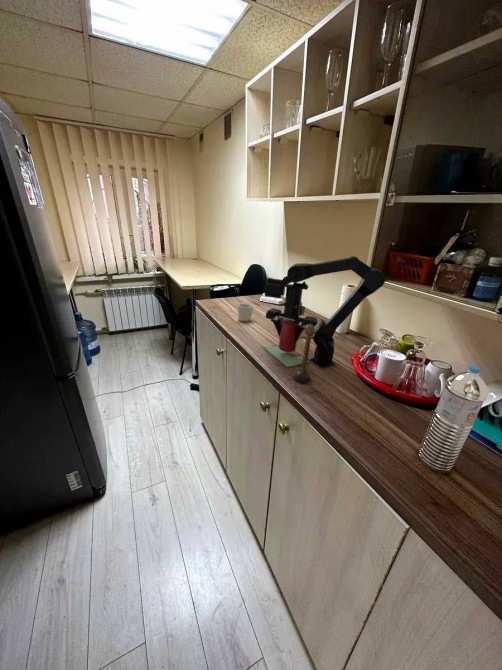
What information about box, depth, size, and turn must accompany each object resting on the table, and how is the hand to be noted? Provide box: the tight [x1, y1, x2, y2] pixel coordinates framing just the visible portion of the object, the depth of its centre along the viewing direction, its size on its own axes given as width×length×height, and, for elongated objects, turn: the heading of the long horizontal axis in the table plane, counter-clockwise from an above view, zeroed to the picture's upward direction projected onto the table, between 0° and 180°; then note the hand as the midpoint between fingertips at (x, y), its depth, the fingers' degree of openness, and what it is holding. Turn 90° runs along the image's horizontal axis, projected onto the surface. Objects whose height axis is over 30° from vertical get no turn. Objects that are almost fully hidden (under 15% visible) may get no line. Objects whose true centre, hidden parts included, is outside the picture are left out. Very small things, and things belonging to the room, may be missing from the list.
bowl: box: [299, 323, 318, 338], centre depth 130 cm, size 14×14×4 cm
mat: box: [264, 345, 310, 368], centre depth 107 cm, size 16×10×1 cm, turn 29°
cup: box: [237, 302, 254, 322], centre depth 141 cm, size 11×8×8 cm
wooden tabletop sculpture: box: [294, 324, 315, 384], centre depth 89 cm, size 6×5×20 cm
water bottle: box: [417, 364, 489, 474], centre depth 58 cm, size 7×7×25 cm
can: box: [278, 319, 299, 353], centre depth 104 cm, size 7×7×11 cm
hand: (288, 339), depth 105 cm, fingers closed on can, 6 cm apart
